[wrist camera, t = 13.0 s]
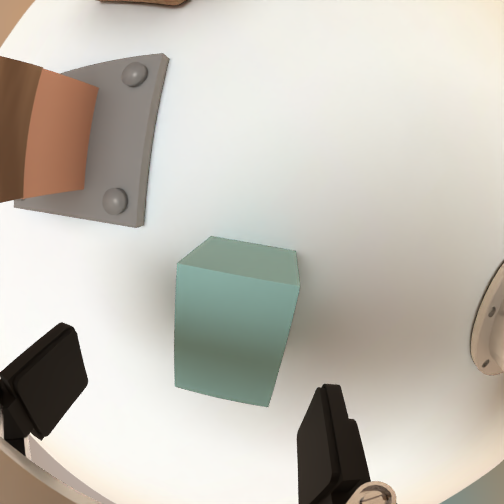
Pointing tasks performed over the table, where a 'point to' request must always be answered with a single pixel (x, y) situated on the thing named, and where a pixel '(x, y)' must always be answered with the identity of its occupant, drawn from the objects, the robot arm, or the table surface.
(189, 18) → the table surface
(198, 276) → the teal brick
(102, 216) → the baseplate
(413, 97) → the table surface
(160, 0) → the block
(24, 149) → the walnut brick
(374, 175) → the table surface
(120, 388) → the table surface
